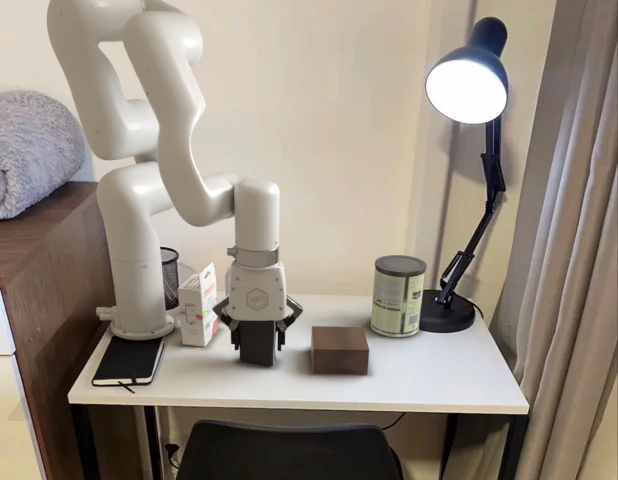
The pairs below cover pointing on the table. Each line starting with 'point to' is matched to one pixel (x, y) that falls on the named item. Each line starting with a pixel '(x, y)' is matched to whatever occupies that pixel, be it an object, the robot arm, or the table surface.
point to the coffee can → (397, 295)
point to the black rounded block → (257, 341)
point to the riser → (339, 350)
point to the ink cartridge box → (198, 307)
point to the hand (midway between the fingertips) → (258, 347)
